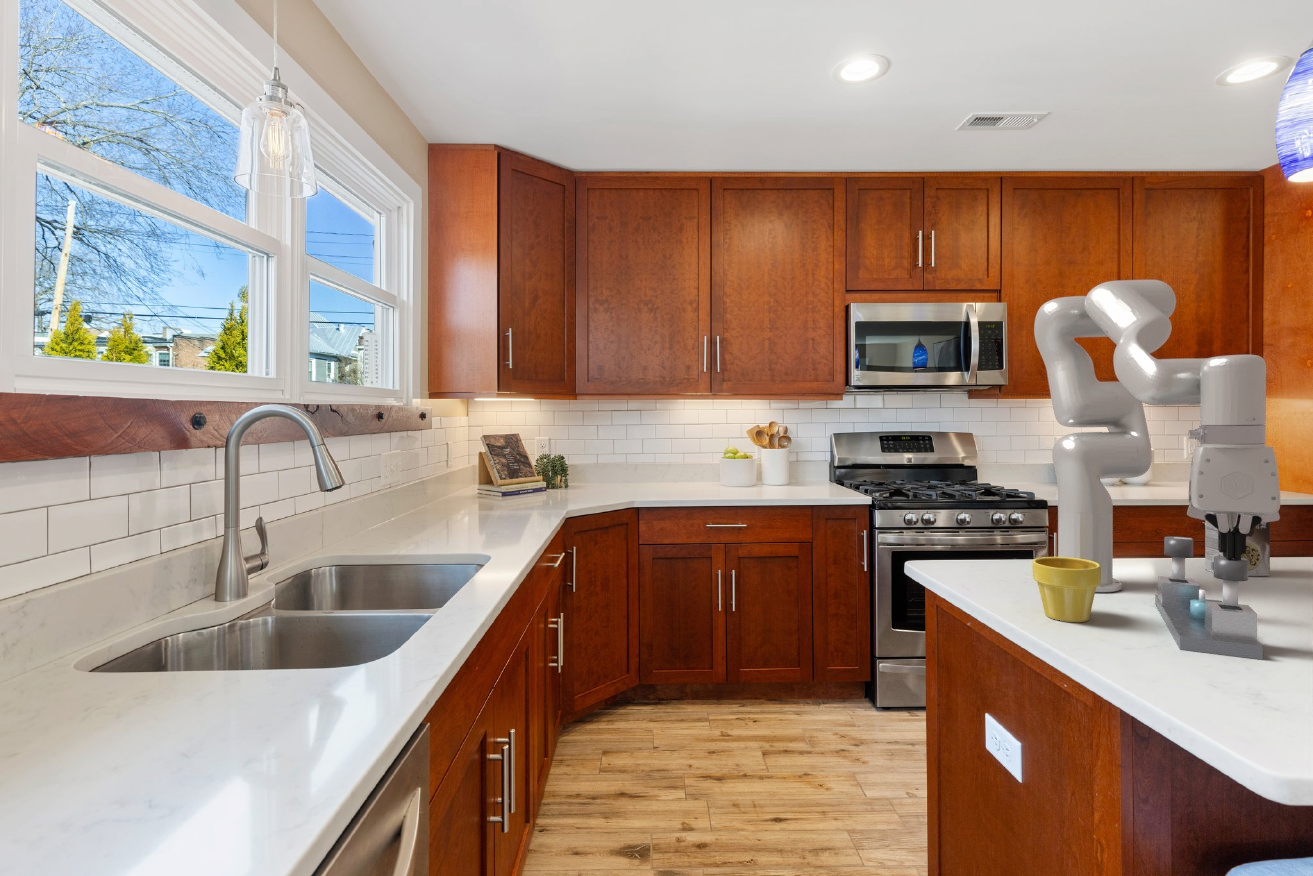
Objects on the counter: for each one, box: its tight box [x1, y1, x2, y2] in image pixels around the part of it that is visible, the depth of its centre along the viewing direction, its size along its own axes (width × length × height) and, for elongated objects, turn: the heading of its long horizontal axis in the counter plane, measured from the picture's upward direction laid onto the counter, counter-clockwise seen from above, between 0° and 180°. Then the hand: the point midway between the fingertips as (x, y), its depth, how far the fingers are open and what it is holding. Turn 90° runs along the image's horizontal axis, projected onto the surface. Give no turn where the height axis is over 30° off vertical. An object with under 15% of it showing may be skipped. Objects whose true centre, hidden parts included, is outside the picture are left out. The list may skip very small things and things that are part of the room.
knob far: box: [1163, 535, 1194, 579], centre depth 118 cm, size 4×4×7 cm
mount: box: [1154, 575, 1264, 661], centre depth 111 cm, size 10×26×6 cm, turn 150°
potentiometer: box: [1190, 588, 1206, 620], centre depth 111 cm, size 3×3×4 cm
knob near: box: [1213, 556, 1249, 606], centre depth 102 cm, size 4×4×7 cm
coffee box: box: [1204, 512, 1271, 577], centre depth 146 cm, size 9×6×16 cm
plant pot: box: [1031, 556, 1101, 623], centre depth 118 cm, size 10×10×10 cm
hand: (1231, 557), depth 102 cm, fingers closed
